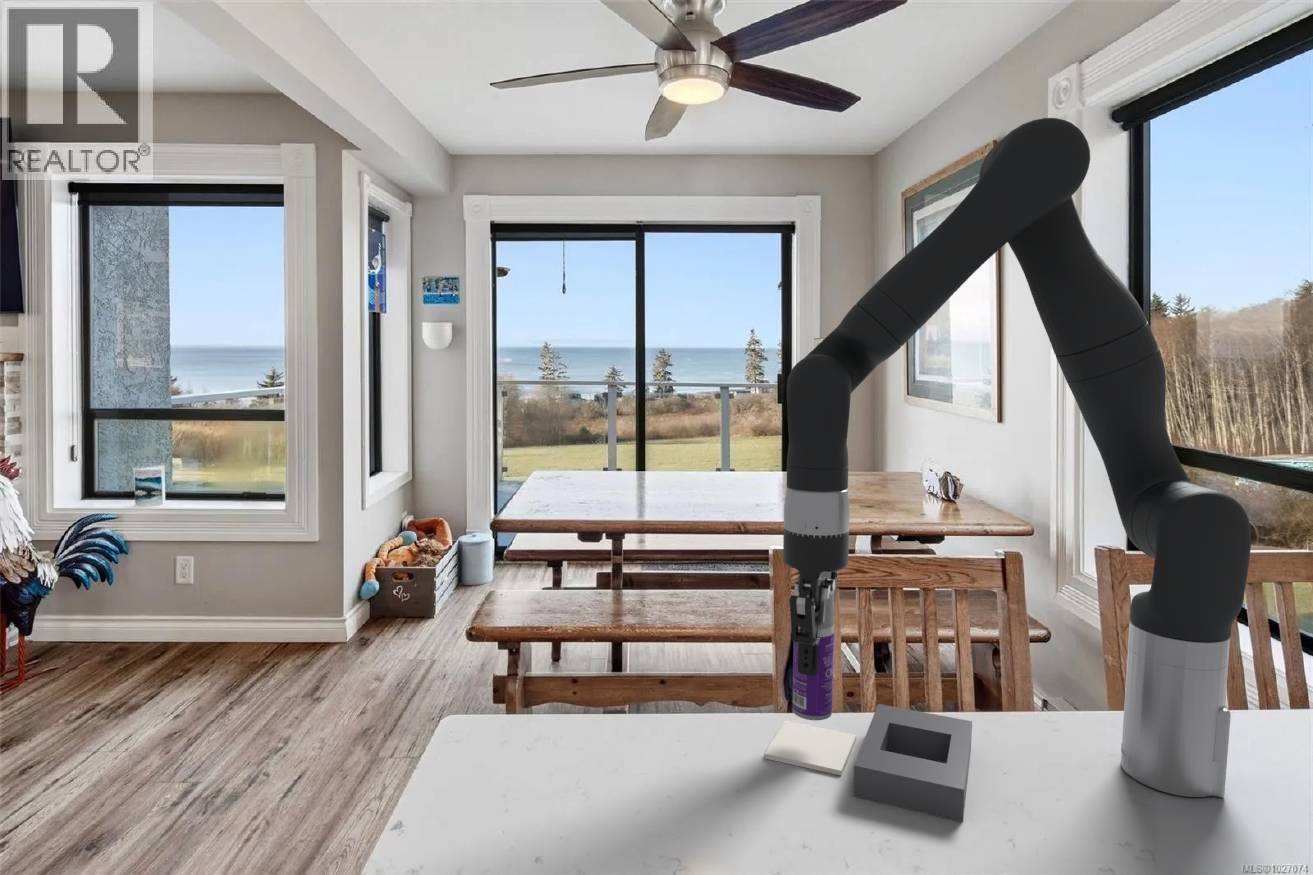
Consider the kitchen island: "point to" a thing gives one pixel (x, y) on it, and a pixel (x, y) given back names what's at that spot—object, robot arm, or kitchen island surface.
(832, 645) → the container
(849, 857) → the kitchen island surface
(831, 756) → the tile
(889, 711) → the socket block
